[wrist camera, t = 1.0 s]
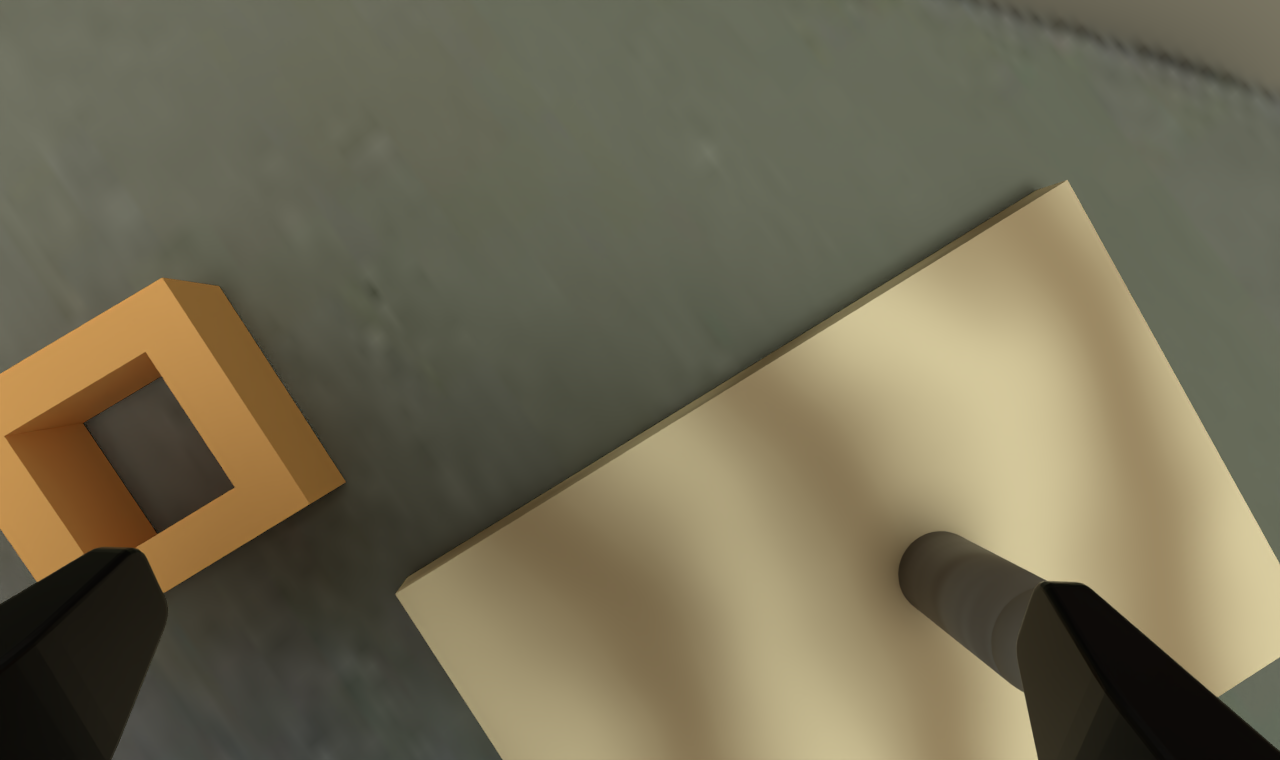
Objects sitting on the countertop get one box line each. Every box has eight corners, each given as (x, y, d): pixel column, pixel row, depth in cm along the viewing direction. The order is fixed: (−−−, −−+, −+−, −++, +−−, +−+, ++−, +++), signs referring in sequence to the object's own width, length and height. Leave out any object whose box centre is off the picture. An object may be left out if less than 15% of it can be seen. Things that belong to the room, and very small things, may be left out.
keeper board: (678, 996, 24) (724, 1305, 16) (407, 577, 23) (319, 696, 15) (1272, 614, 24) (1584, 738, 17) (1036, 190, 23) (1255, 118, 16)
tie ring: (147, 603, 22) (79, 644, 19) (14, 407, 22) (-75, 419, 19) (346, 482, 22) (309, 504, 19) (218, 286, 22) (161, 277, 19)
